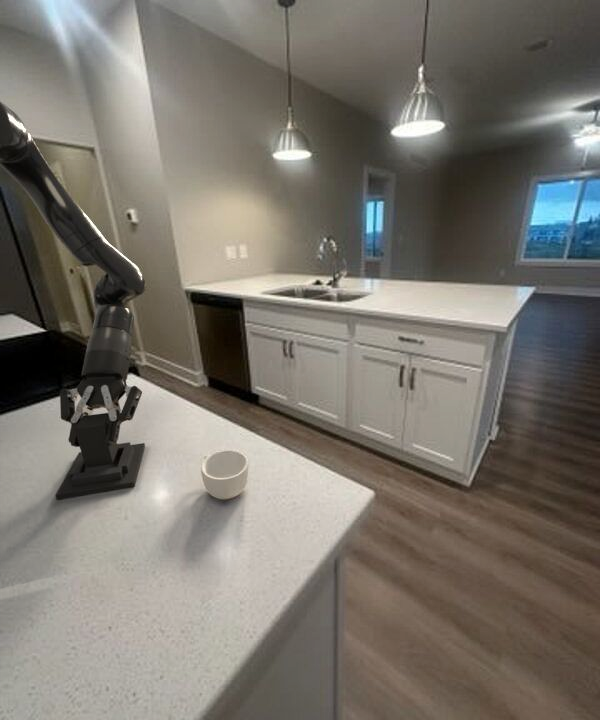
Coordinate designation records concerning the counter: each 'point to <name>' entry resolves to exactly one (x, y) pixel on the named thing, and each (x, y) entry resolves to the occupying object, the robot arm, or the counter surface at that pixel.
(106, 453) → the dark grey rectangular block
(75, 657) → the counter surface
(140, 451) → the base pad
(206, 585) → the counter surface
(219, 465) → the teacup
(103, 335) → the robot arm
